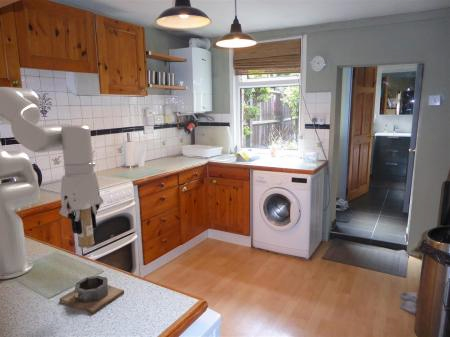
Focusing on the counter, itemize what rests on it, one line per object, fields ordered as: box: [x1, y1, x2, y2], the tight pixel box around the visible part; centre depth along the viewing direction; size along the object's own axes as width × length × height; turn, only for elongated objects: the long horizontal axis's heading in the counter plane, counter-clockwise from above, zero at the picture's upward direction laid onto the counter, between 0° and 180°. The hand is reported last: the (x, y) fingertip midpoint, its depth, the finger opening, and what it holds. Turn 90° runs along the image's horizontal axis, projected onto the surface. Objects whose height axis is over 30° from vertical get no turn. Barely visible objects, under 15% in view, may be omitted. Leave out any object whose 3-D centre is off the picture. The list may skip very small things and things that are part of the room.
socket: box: [74, 275, 109, 303], centre depth 100 cm, size 9×11×4 cm
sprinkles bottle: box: [77, 203, 95, 249], centre depth 97 cm, size 5×5×13 cm
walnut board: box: [59, 284, 125, 315], centre depth 101 cm, size 14×12×1 cm
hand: (84, 229), depth 97 cm, fingers closed on sprinkles bottle, 4 cm apart
